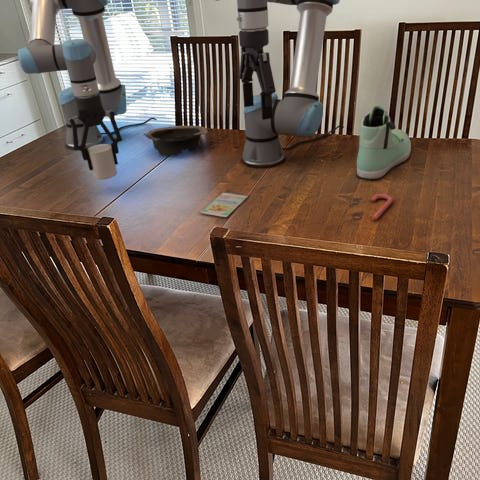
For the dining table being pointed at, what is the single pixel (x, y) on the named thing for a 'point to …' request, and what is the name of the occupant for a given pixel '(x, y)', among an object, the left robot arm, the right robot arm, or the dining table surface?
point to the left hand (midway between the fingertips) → (103, 165)
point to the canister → (102, 161)
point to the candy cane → (385, 206)
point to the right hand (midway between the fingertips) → (257, 112)
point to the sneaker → (380, 145)
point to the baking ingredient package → (224, 204)
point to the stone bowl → (176, 139)
